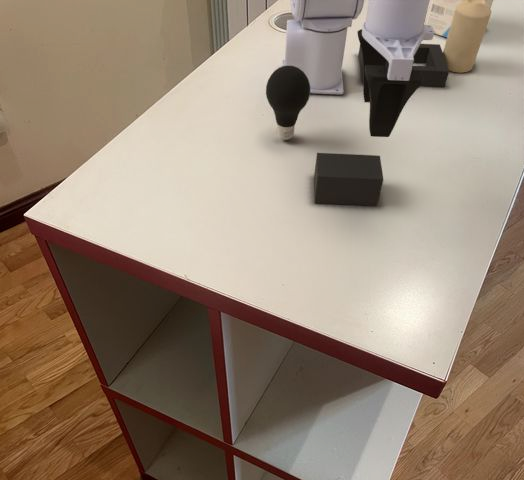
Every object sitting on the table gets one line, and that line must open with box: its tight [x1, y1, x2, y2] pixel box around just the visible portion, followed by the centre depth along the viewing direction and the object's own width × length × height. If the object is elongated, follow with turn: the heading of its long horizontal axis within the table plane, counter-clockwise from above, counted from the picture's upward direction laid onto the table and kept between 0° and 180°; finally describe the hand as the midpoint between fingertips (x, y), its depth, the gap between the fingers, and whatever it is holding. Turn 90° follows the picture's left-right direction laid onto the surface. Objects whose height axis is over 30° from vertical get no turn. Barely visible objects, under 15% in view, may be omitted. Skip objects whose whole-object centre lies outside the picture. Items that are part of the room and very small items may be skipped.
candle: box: [442, 0, 492, 74], centre depth 84 cm, size 6×6×10 cm
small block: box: [313, 152, 384, 207], centre depth 65 cm, size 8×5×4 cm, turn 87°
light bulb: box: [265, 66, 311, 142], centre depth 70 cm, size 6×6×10 cm
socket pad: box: [357, 43, 450, 88], centre depth 85 cm, size 14×10×2 cm
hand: (375, 117), depth 58 cm, fingers open, 7 cm apart
